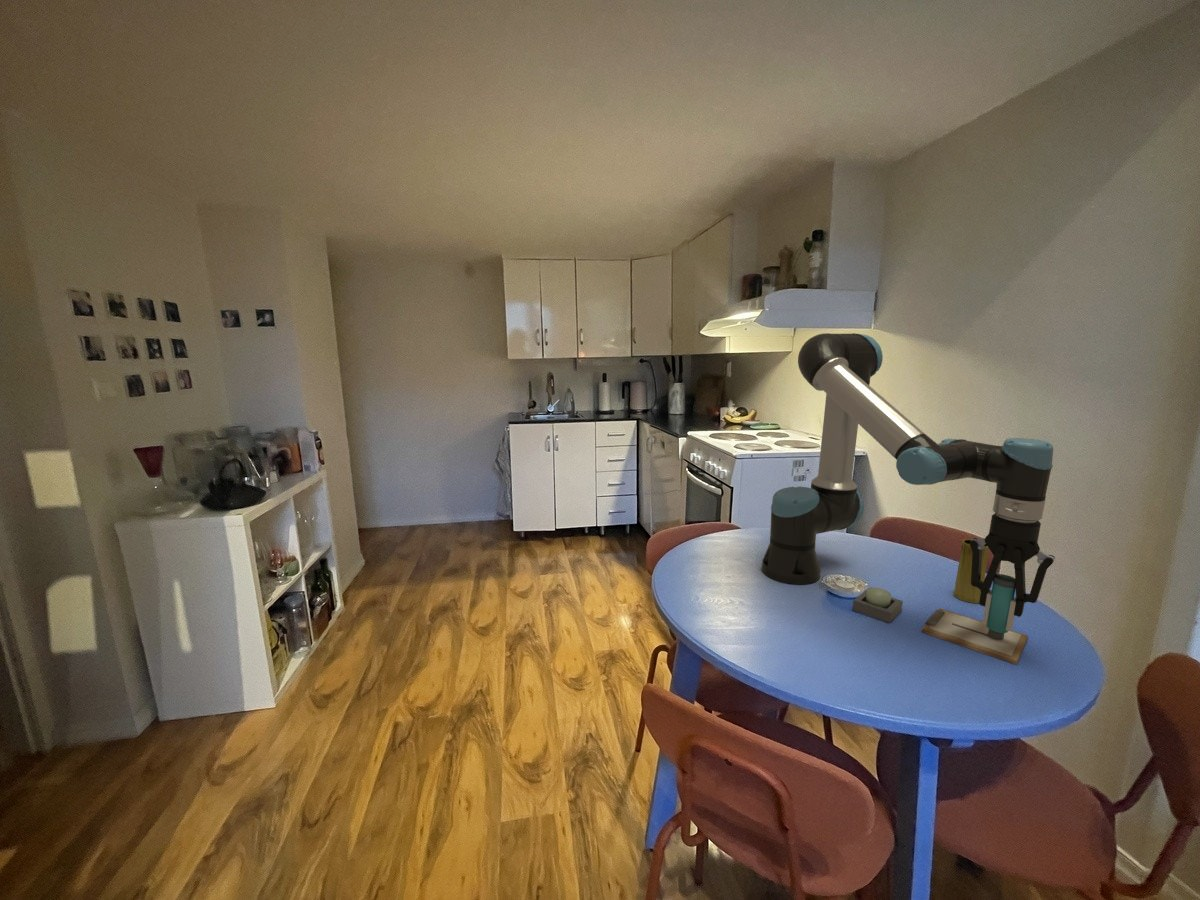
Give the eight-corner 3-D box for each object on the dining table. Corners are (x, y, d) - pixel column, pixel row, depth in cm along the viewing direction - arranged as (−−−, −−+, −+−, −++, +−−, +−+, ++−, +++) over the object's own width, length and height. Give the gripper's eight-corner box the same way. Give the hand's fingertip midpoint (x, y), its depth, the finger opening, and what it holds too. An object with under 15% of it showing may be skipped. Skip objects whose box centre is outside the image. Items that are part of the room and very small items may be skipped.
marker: (982, 635, 103) (992, 577, 101) (986, 629, 106) (995, 572, 103) (1005, 643, 101) (1015, 584, 98) (1008, 636, 103) (1018, 578, 101)
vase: (989, 604, 119) (997, 548, 116) (960, 602, 120) (967, 546, 118) (975, 592, 125) (983, 539, 122) (948, 590, 126) (955, 537, 124)
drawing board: (921, 632, 108) (922, 626, 107) (938, 611, 116) (939, 605, 116) (1016, 664, 96) (1017, 658, 96) (1027, 639, 105) (1028, 632, 104)
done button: (862, 603, 117) (863, 592, 116) (870, 596, 120) (871, 585, 120) (885, 610, 113) (886, 599, 113) (893, 603, 116) (894, 592, 116)
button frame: (852, 610, 117) (853, 600, 117) (865, 598, 122) (866, 589, 122) (889, 623, 111) (890, 612, 111) (901, 610, 117) (902, 600, 116)
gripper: (962, 511, 102) (946, 615, 106) (1069, 532, 90) (1046, 648, 95) (971, 503, 107) (955, 603, 111) (1074, 522, 95) (1052, 633, 99)
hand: (997, 624), depth 103 cm, fingers closed on marker, 3 cm apart
